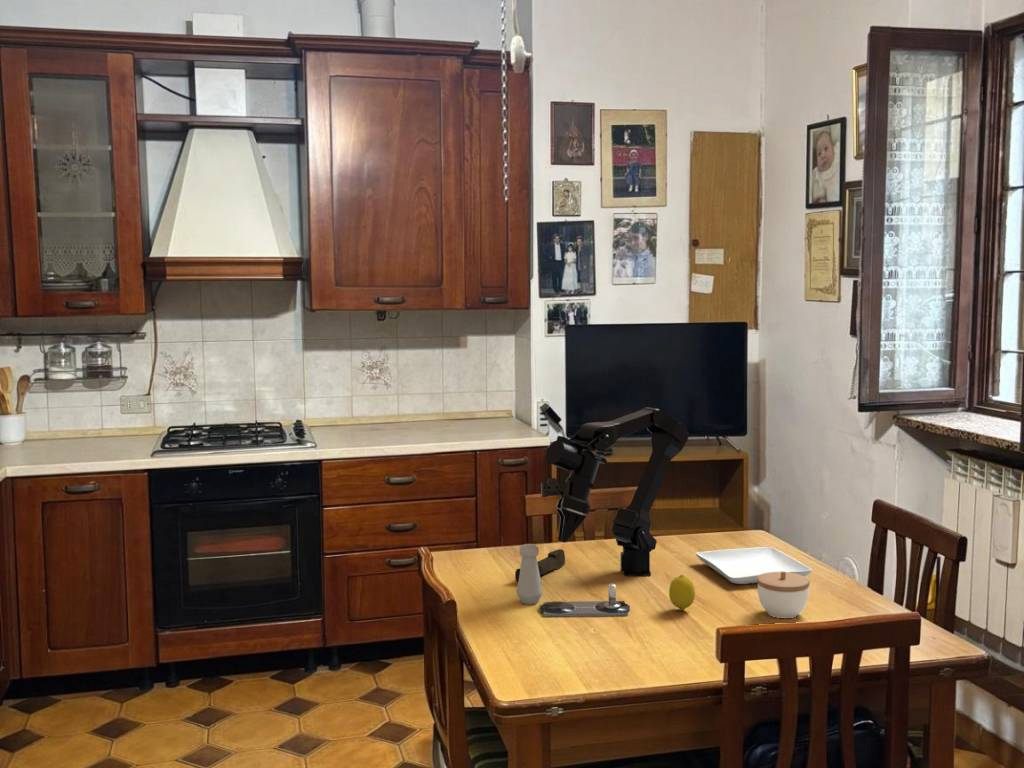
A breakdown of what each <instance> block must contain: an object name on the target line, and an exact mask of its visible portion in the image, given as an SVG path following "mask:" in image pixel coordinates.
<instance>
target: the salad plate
mask: <svg viewBox="0 0 1024 768" xmlns="http://www.w3.org/2000/svg"><path fill="white" fill-rule="evenodd" d="M695 556H696V558H698V559H699V560H700V561H701V562H703V564H705V565H706V566H708V567H710V568H711V569H713V570H714V571H715V572H716V573H718V574H720V575H721V576H722V577H724V578H726V580H728V581H729V582H731V583H733V584H736V585H750V584H749V583H752V584H758V583H757V578H758V576H759V575H761V574H764V573H769V572H781V571H785V572H789V573H795V574H799V575H802V576H804V577H806V576H808V575H810V574H812V572H813V568H811V567H809V566H807V565H805V564H803V562H800V561H798V560H797V559H795V558H793V557H792V556H790V555H788V554H785V552H783V551H780V550H779V549H777V548H775V547H773V546H772V547H771V546H760V547H744V548H729V549H728V548H727V549H715V550H708V551H697V552H695Z"/></svg>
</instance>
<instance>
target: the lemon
mask: <svg viewBox="0 0 1024 768" xmlns="http://www.w3.org/2000/svg"><path fill="white" fill-rule="evenodd" d="M668 595H669V600H670V602H671V604H672V605H673V606H674V607H675V608H678V609H679V610H680V611H682V612H683V611H684V610H686V609H687V608H689V607H691V606H692V604H693V603H694V601H695V598H696V589H695V585H694V582H693V581H692V580H691V579H690V578H689V577H688V576H685V575H684V574H680V575H678V576H676V577H675V578H674V579H672V580H671V583H670V585H669V590H668Z"/></svg>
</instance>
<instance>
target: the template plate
mask: <svg viewBox="0 0 1024 768" xmlns="http://www.w3.org/2000/svg"><path fill="white" fill-rule="evenodd" d="M606 602H609V600H589V601H588V600H587V601H586V600H585V601H583V600H582V601H579V600H577V601H574V600H573V601H543V602H542V604H541V605H540V606H539V612H540V613H541V614H543V617H544V618H545V617H546V618H547V617H548V618H551V617H555V618H557V617H563V618H565V617H628V616H629V612H630V611H631V606H630V605H629V604H628V603H625V600H616V602H618V603H620V604H621V608H619V609H616V610H609V609H606V608H604V603H606Z"/></svg>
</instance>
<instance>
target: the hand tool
mask: <svg viewBox="0 0 1024 768" xmlns="http://www.w3.org/2000/svg"><path fill="white" fill-rule="evenodd" d="M537 564H538V569H539V574H540V577H541V576H543V575H545V574H547V573H549V572H551V571H552V570H557V571H558V570H561V569H560V568H563V567H564V566H565V564H566V554H565V551H564V549H563V548H558V549H555V550H553V551H549V552H548V553H547V556H546V557H544V558H542V559H541V560H537ZM514 574H515V575H514V576H515V581H516V583H517V582H518V581H519V575H520V568H516V570H515V572H514Z"/></svg>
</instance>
